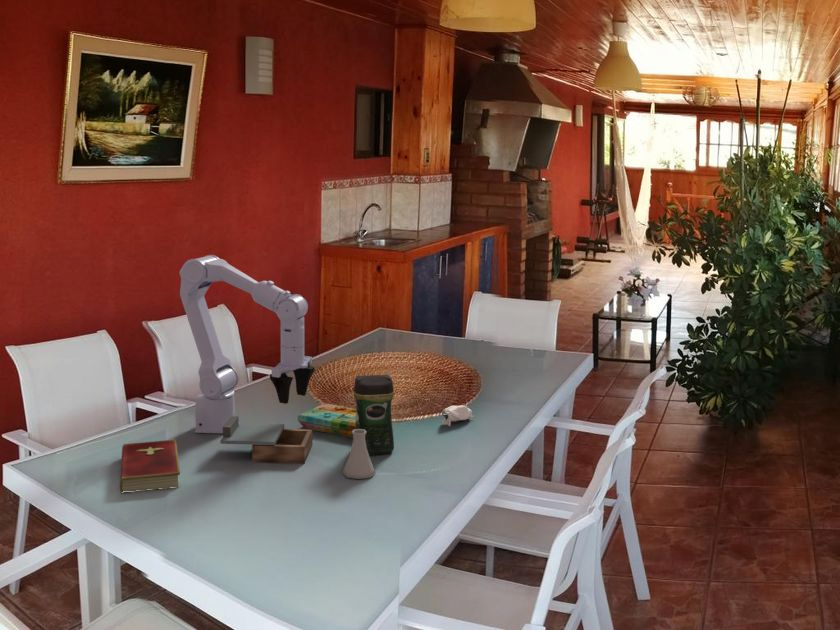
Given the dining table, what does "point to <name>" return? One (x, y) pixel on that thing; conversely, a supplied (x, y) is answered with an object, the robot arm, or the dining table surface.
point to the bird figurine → (456, 414)
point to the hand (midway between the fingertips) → (292, 398)
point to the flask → (359, 458)
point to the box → (285, 448)
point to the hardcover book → (149, 465)
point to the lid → (250, 433)
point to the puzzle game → (330, 419)
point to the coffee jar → (375, 411)
